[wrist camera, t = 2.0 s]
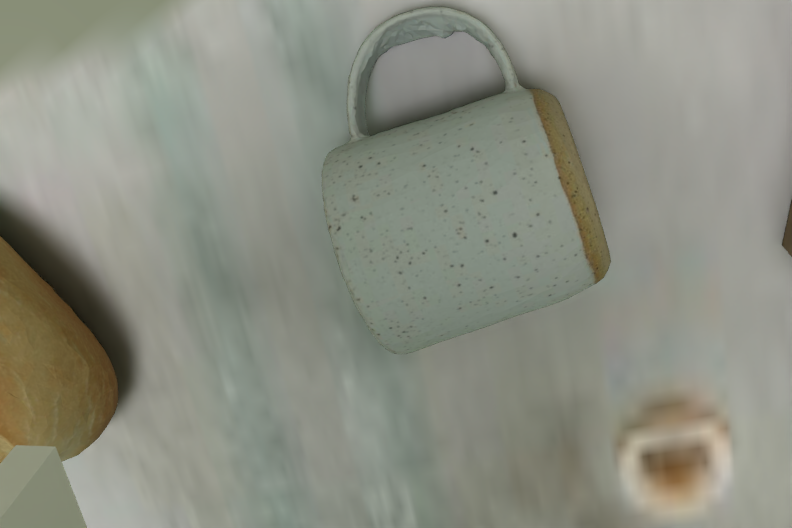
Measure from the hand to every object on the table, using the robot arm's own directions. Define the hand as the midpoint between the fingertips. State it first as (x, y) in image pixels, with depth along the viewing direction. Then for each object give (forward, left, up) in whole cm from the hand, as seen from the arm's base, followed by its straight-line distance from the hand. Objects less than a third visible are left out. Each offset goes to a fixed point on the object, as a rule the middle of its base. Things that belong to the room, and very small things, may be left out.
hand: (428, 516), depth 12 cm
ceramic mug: (0, 0, -18) cm, 18 cm away
